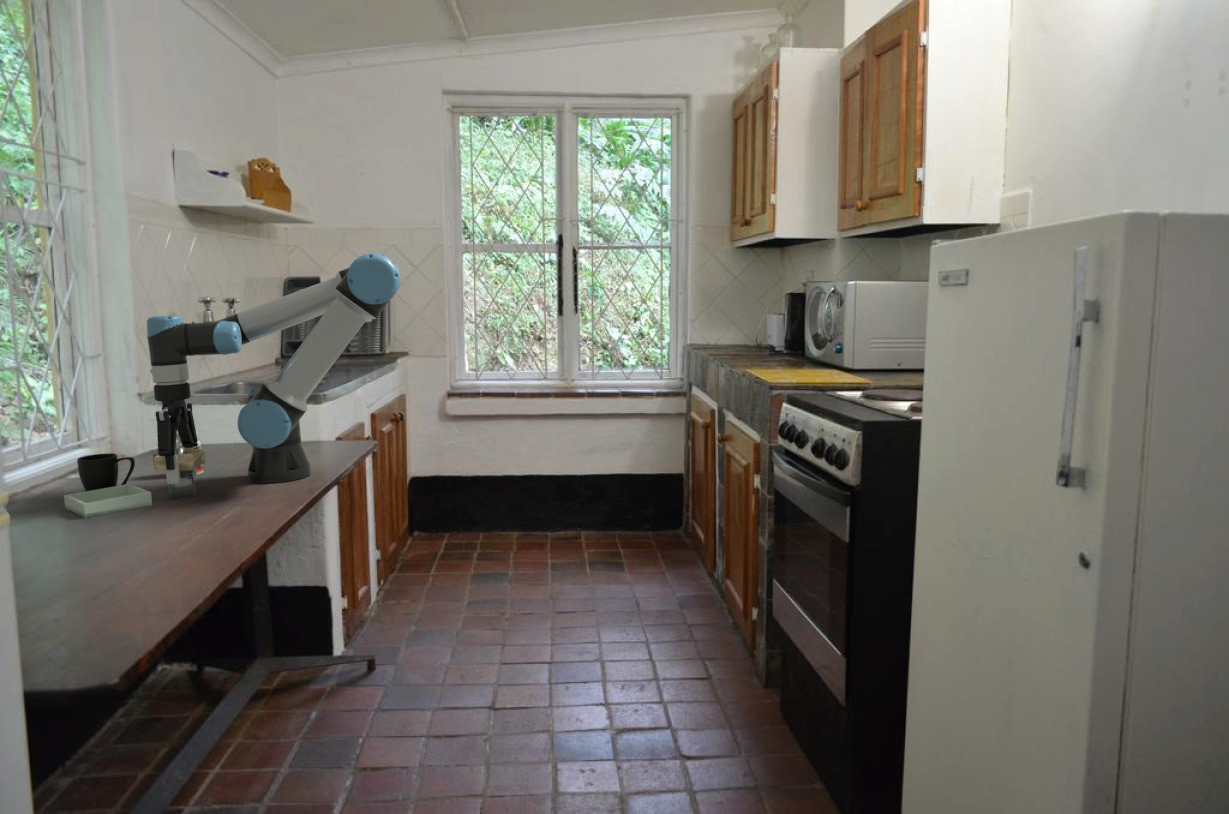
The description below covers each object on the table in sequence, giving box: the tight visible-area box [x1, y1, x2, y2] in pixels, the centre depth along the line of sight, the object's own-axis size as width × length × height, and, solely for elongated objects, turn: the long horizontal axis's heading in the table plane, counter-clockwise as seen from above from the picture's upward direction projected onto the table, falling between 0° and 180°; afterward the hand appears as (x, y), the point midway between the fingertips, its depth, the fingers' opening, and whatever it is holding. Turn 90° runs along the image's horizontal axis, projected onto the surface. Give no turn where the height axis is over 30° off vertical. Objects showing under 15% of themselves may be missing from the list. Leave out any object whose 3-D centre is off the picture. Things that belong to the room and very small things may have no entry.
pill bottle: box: [176, 430, 204, 477], centre depth 231 cm, size 6×6×11 cm
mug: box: [76, 453, 136, 492], centre depth 210 cm, size 8×12×10 cm
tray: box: [63, 483, 153, 519], centre depth 199 cm, size 14×14×3 cm
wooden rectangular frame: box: [152, 448, 206, 473], centre depth 207 cm, size 10×8×4 cm
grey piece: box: [167, 447, 197, 500], centre depth 207 cm, size 6×6×12 cm
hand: (182, 478), depth 208 cm, fingers closed on wooden rectangular frame, 8 cm apart
